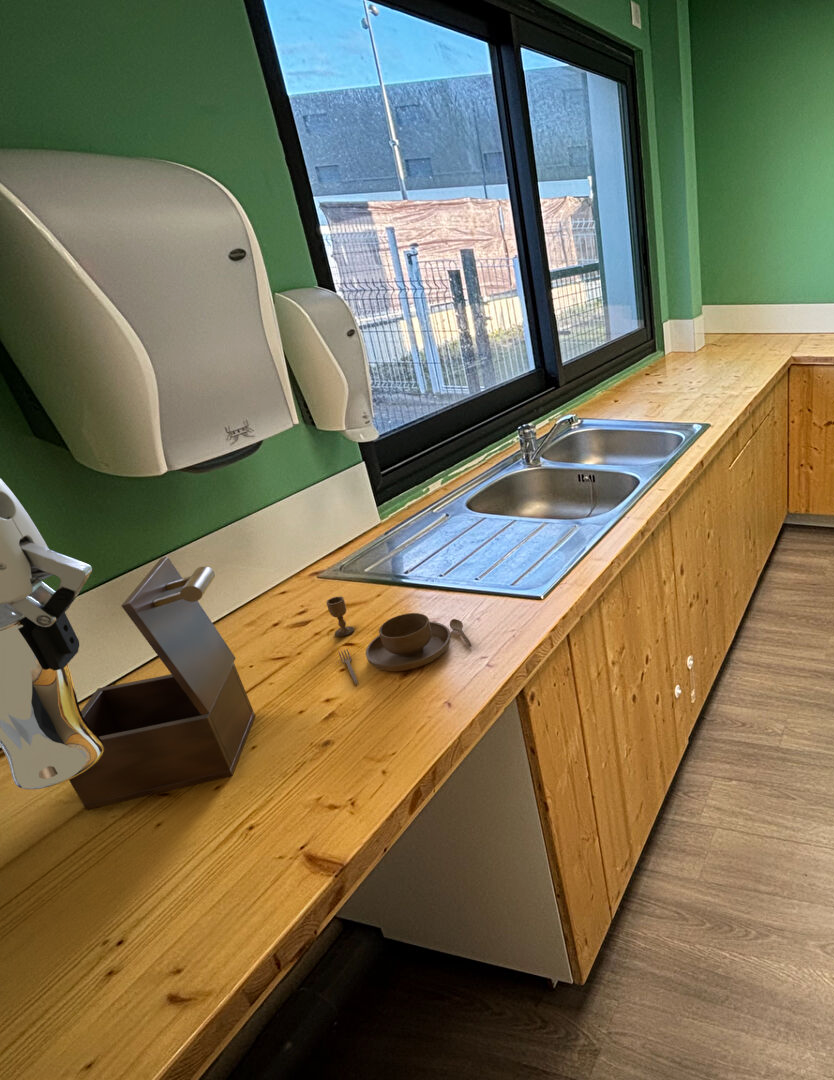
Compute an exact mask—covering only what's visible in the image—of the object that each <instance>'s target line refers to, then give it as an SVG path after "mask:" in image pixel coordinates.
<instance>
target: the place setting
mask: <svg viewBox="0 0 834 1080" xmlns="http://www.w3.org/2000/svg"><path fill="white" fill-rule="evenodd" d="M325 603H326V607H327V609H328V612H329V614H330V616H332V618H336V619H337V620H338V623H337V625H338V626H339V627H340V628H338V629H336V631H335V632H334V636H335V637H337V638H343V637H347V636H349V635H350V636H351V634H353V633H354V632H355V627H353V626H347V622H346V620H345V619H344V616H345V615H346V614H347V606H346V602H345V599H344V597H343V596H334V597H331V598H329V599H327V600H326V602H325ZM463 626H464V625H463V622H462V621H461V620H459V619H457V618H452V619H451V620H450V622H449V627H450V629H452V630H453V631H457V632H458V633H459V634H460V636H461V637H462V639H463V641H464V642H465V644H466V645H467V646H468V647H472V645H473V644H472V642H471V641H470V639H469V638H468V637H467V635H466V633H464V631H463ZM449 627H448V626H446V625H445V624H443V623H440V622H437V621H431V620H430V619H429V617H428V616H427V615H425V614H423V613H419V612H410V613H403V614H400V615H396V616H394V617H391V618H389V619H388V620H386V621H385V622H383V623H382V624H381V625H380V626H379V628H378V634H379V635H377V636H376V637H374V639H372V640H371V641H370V642H369V644H368V645H367V647H366V648H365V656H366V659H367V661H368V663H369V664H370V665H371V666H372V667H374V668H375V669H378V670H381V671H386V672H404V671H409V670H414V669H417V668H420V667H423V666H425V665H427V664H430V663H431V662H433V661H435V660H436V659H438V658H439V657H440V656H442V654H444V653H445V652H446V650H448V647H450V643H451V639H452V635H451V631H450V629H449ZM340 652H341V653H340ZM343 652H344V653H343ZM338 656H339V658H340V661H341V662H342V664H346V666H347V667H346V668H347V670H348V672H349V674H350V677H351V679H352V681H353V683H354V685H355V686H357V685H359V681H358V678H357V675H356V673H355V671H354V669H353V667H352V665H351V662H352V657H351V654H350V651H349V650H348V649H346V650H345V649H343V650H342V649H341V650H340V651H338Z"/></svg>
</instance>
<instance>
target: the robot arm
mask: <svg viewBox="0 0 834 1080" xmlns="http://www.w3.org/2000/svg"><path fill="white" fill-rule="evenodd" d="M92 572H93V567H92V566H91V564H88V563H86V562H83V561H81V560H79V559H76V558H74V557H71V556H67V555H65V554H63V553H60V552H57V551H55V550H52V549H50V548H49V547H48V544H47V543H46V541H45V539H44V537H43V536H42V534H41V532H40V531H39V529H38V528H37V526H36V524H35V523H34V521H33V519H32V518H31V516H30V515H29V513H28V512H27V510H26V509H25V508H24V506H23V504H22V503H21V502H20V501H19V499H18V498H17V496H16V495H15V494H14V492H13V491H12V490H11V489H10V487H9V486H8V485H7V484H6V482H4V481H3V479H2V478H1V477H0V604H8V605H10V606H11V607H12V608H14V609H15V610H17V611H18V612H20V613H21V614H22V615H24V616H25V617H27V618H28V619H30V620H31V621H32V622H34V623H35V624H37V626H36V627H35V628H34V629H33V630H32V632H31V634H32V636H33V638H34V640H35V642H36V644H37V645H38V647H39V649H40V651H41V653H42V655H43V657H44V659H45V661H46V662H47V664H48V666H49V668H50V669H52V670H54V671H55V670H60V669H64V667H65V666H66V665H67V664H69V663H70V662H71V661H72V660H73V658H74V657H76V655H77V654H78V653H79V649H80V640H79V638H78V636H77V634H76V632H75V630H74V628H73V626H72V623H71V622H70V620H69V618H68V616H67V614H66V613H67V610H69V609H70V607H71V606H72V604H73V603H74V601H75V600H76V598H77V597H78V596H79V594H80V593H81V592H82V589H83V587H84V586H85V584H86V583H87V581H88V579H89V577H90V576H91V574H92ZM52 576H56V577H57V578H58V579H59V581H60V583H59V584H58V587H57V588H56V590H54V589H53V588H51V587H50V586H49V585H47V584H46V583H45V582H43V580H46V579H49V578H50V577H52Z"/></svg>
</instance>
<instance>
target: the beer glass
mask: <svg viewBox="0 0 834 1080" xmlns="http://www.w3.org/2000/svg"><path fill="white" fill-rule="evenodd" d="M36 626H37V624H35V623H34V622H32V621H31V620H30V619H28V618H27V617H25V616H24V615H22V614H21V613H20V612H18V611H17V610H15V609H14V608H12V607H11V606H10V605H8V604H0V748H1V749H2V751H3V753H4V756H6V759H7V762H8V766H9V770H10V774H11V778H12V780H13V783H14V784H15V786H17V787H18V788H19V789H22V790H23V789H24V790H40V789H47V788H50V787H53V786H56V785H60V784H62V783H65V782H67V781H69V780H70V779H72V778H74V777H76V776H78V775H79V774H81V773H83V772H84V771H86V770H87V769H89V768H90V767H91V766H93V765H94V764H95V763H96V762H97V761H98V760H99V759H100V758H101V756H102V755H103V753H104V751H105V745H104V743H103V741H102V740H101V739H100V738H99V737H98V736H97V734H96V733H95V732H94V731H93V730H92V729H91V728H90V727H89V725H88V724H87V723H86V721H85V719H84V718H83V716H82V713H81V708H80V705H79V701H78V697H77V692H76V688H75V684H74V680H73V675H72V670H71V667H70V664H69V663H68V664H67V665H66V666H65V667H64V669H60V670H55V671H54V670H52V669H50V668H49V666H48V664H47V662H46V661H45V659H44V657H43V655H42V653H41V651H40V649H39V647H38V645H37V644H36V642H35V640H34V638H33V636H32V634H31V632H32V630H33V629H34V628H35V627H36Z"/></svg>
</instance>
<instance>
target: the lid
mask: <svg viewBox="0 0 834 1080" xmlns="http://www.w3.org/2000/svg"><path fill="white" fill-rule="evenodd" d="M215 577H216V573H215V571H214V569H212V568H211V567H209V566H199V567H197V568H196V569H195V570H194V571H193V573H192V574H191V575H189V576H186V577H182V576H181V574H180V572H179V571H178V570H177V568H176V567H175V565H174V564H173V562H172V561H171V559H170V557H169V556H165V557H161V558H160V559H159V560H158V561H157V562H156V564H155V565H153V566H152V568H151V569H150V571H149V572H148V573H147V574H146V576H145V577H144V578H143V579H142V580H141V581H140V583H139V584H138V585H137V586H136V587H135V588H134V590H133V591H132V592H131V593H130V594H129V596H128V597H127V598H126V599H125V600H124V601H123V603H122V604H121V608H122V609H123V611H124V612H125V613H126V614H127V616H128V617H129V618H130V620H131V621H132V622H133V624H134V625H135V627H136V628H137V630H138V631H139V632H140V634H141V635H142V636H143V638H144V639H145V640H146V642H147V643H148V645H149V646H150V647H151V648H152V650H153V651H154V652H155V654H156V655H157V657H158V658H159V659H160V661H161V662H162V663H163V665H164V666H165V667H166V669H167V670H168V672H169V673H170V674H172V675H173V677H174V678H175V680H176V681H177V682H178V684H179V685H180V686H181V688H182V689H183V690H184V692H185V693H186V694H187V696H188V697H189V699H190V700H191V701H192V703H193V704H194V705H195V707H196V708H197V709H198V711H199V712H200V713H201V715H205V714H208V713H209V712H210V710H211V708H212V706H213V704H214V702H215V700H216V698H217V696H218V694H219V692H220V690H221V688H222V685H223V683H224V681H225V679H226V677H227V675H228V673H229V671H230V669H231V667H232V665H233V663H234V664H235V661H236V656H235V655H234V653H233V652H232V649H230V647H229V645H228V644H227V643H226V641H225V640H224V638H223V636H222V635H221V633H220V632H219V631H218V629H217V627H216V626H215V625H214V623H213V622H212V620H211V619H210V617H209V616H208V614H207V613H206V611H205V610H204V608H203V606H202V605H201V604H200V602H199V601H200V600H201V599H202V598H203V596H204V595H205V593H206V592H207V590H208V588H209V587H210V586H211V584H212V583H213V581H214V579H215Z"/></svg>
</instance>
